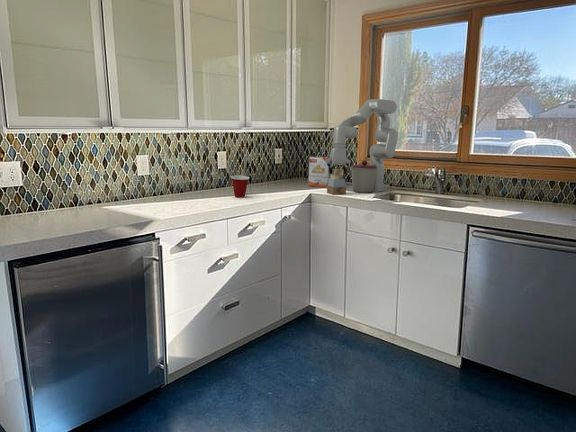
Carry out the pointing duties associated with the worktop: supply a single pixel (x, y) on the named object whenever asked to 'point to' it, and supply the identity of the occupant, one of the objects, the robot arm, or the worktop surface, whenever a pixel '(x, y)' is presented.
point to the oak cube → (337, 174)
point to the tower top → (336, 182)
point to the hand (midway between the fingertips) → (337, 173)
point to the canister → (363, 177)
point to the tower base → (336, 190)
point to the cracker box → (318, 172)
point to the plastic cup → (240, 185)
